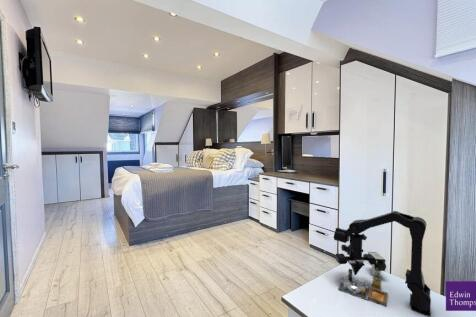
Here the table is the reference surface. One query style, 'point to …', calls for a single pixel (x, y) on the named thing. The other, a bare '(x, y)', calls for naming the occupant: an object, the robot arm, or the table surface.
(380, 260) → the pneumatic valve
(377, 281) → the tan rectangular block
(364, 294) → the sprocket base
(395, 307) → the table surface
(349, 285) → the sprocket
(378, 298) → the brown open tray
